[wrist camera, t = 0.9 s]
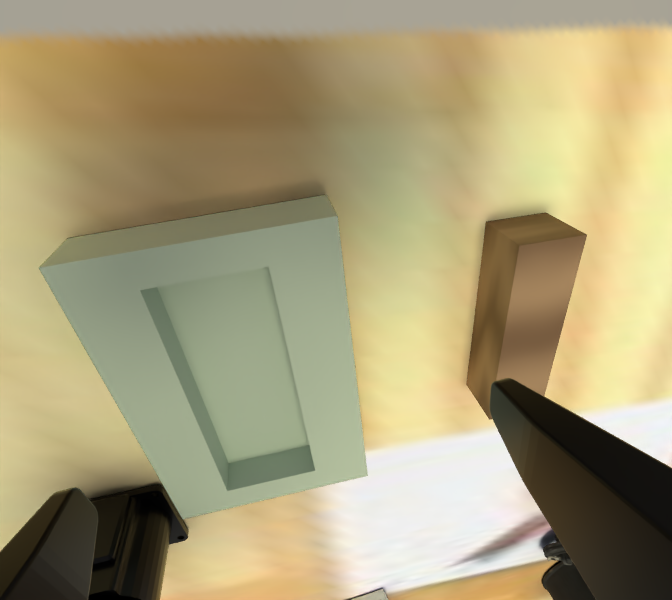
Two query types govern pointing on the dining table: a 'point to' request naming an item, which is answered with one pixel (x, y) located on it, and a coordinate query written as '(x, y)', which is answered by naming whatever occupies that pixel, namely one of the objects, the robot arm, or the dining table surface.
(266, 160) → the dining table surface
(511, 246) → the walnut peg
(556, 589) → the milk frother
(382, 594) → the skincare box
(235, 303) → the sage cradle
